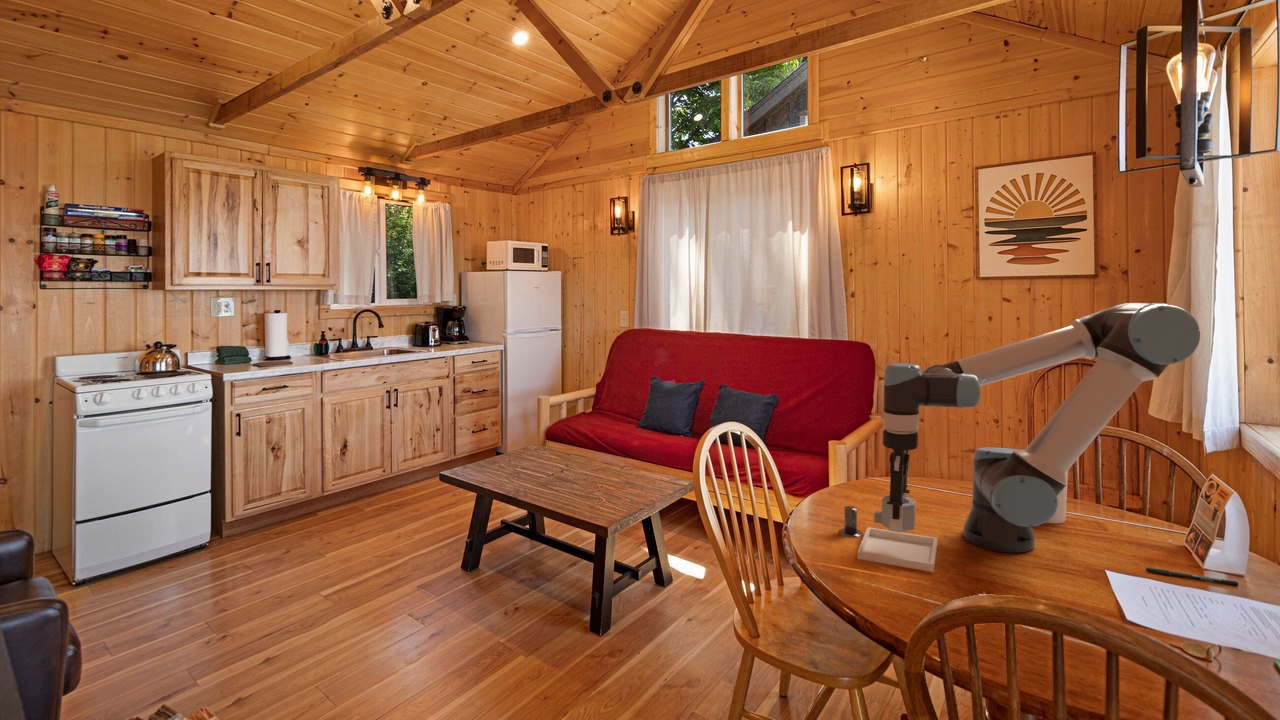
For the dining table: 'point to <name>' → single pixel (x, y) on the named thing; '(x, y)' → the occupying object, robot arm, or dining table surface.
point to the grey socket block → (908, 513)
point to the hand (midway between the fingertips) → (897, 525)
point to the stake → (850, 523)
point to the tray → (898, 549)
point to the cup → (1060, 506)
